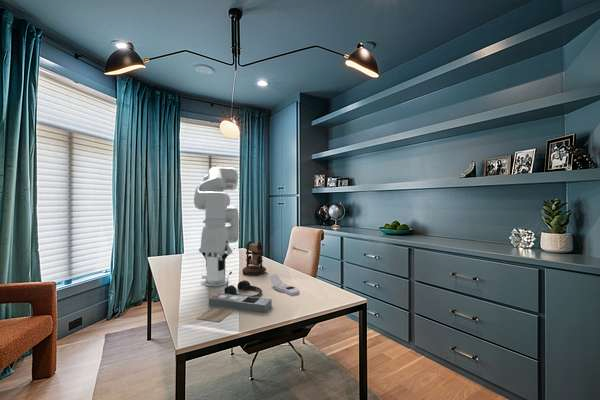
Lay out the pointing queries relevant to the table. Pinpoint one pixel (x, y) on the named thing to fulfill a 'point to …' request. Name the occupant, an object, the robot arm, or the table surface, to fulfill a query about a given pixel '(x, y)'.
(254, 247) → the brown lantern
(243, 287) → the headset
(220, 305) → the power strip
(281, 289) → the light grey elongated piece
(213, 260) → the charger
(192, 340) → the table surface
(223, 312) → the coaster
